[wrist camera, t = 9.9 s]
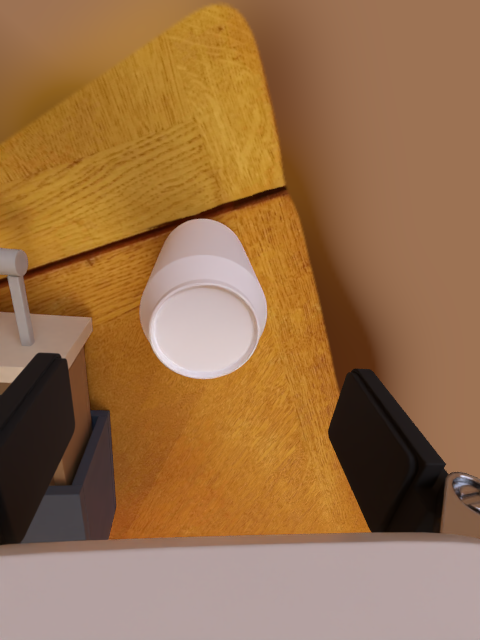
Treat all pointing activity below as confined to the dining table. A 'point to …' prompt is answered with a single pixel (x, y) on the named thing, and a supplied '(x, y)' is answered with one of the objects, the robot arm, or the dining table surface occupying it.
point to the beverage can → (203, 302)
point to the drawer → (47, 337)
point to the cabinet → (81, 495)
